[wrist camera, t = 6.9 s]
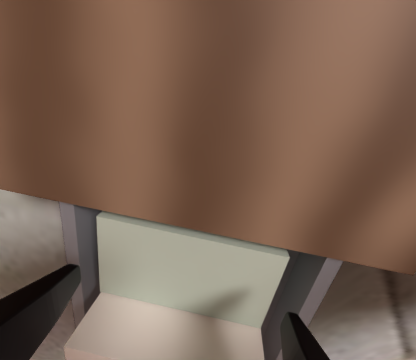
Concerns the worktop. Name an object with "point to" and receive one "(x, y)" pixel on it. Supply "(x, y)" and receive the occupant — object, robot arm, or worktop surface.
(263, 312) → the sage tile
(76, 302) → the box
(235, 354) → the cream tile
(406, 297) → the worktop surface
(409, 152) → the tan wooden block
